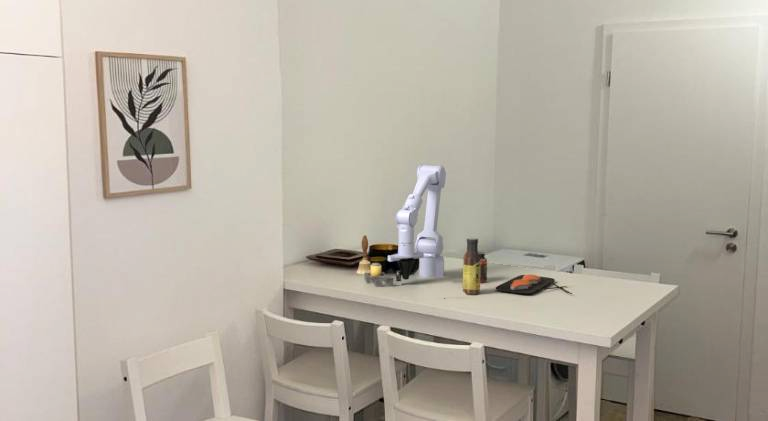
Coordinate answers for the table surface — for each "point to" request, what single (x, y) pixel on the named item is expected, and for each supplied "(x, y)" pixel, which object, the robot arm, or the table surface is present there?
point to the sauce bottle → (471, 268)
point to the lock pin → (395, 282)
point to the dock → (379, 279)
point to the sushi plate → (527, 284)
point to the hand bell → (364, 259)
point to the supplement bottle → (483, 267)
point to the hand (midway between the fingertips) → (405, 278)
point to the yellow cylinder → (375, 269)
